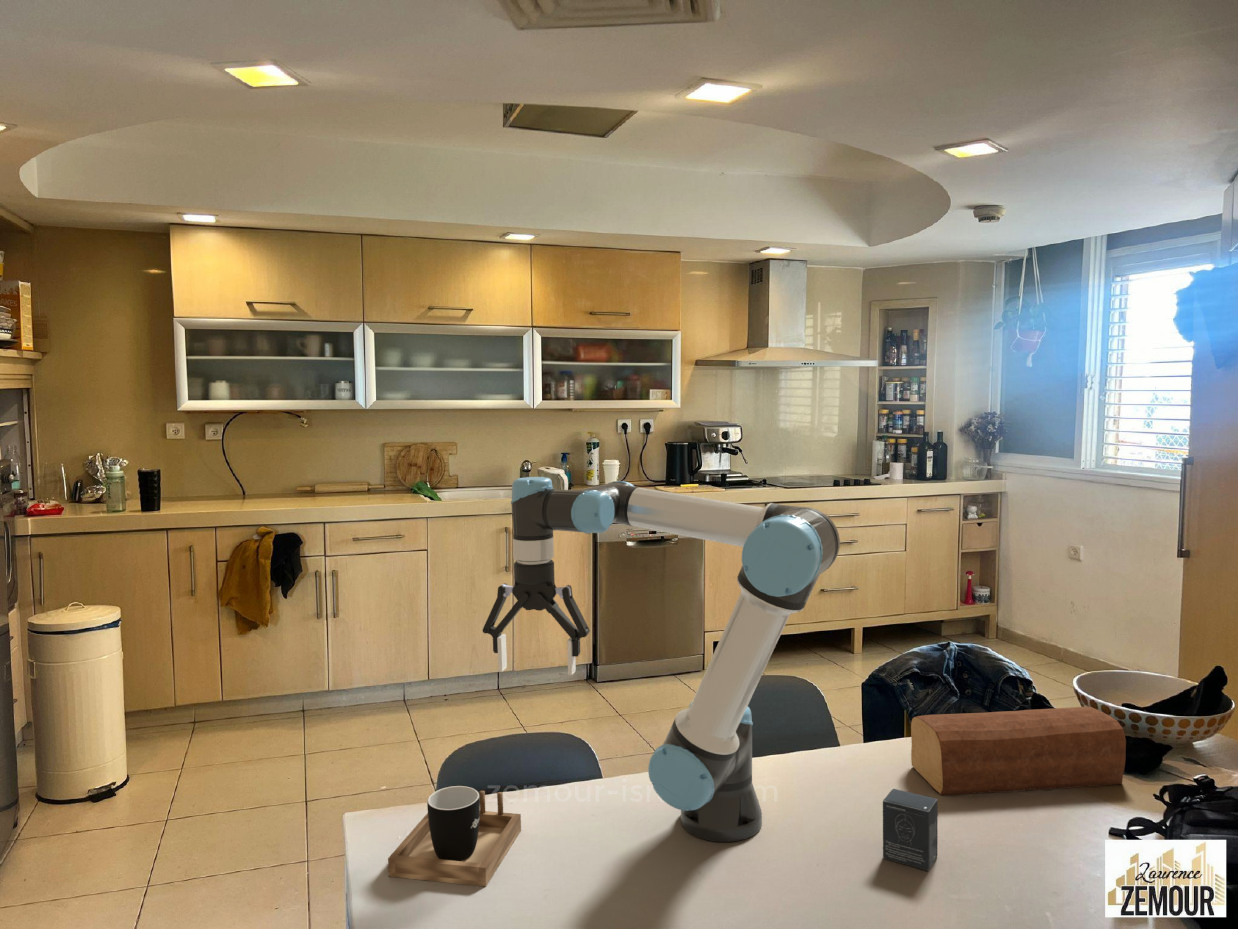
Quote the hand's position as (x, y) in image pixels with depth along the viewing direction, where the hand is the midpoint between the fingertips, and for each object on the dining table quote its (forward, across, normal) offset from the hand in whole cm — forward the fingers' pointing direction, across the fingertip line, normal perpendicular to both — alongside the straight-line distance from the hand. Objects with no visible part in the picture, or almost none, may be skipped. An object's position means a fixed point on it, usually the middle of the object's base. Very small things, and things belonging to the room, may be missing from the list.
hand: (537, 671), depth 162 cm
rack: (+29, +11, +14) cm, 34 cm away
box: (+29, -67, +3) cm, 73 cm away
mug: (+28, +11, +15) cm, 34 cm away
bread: (+29, -92, -33) cm, 102 cm away
